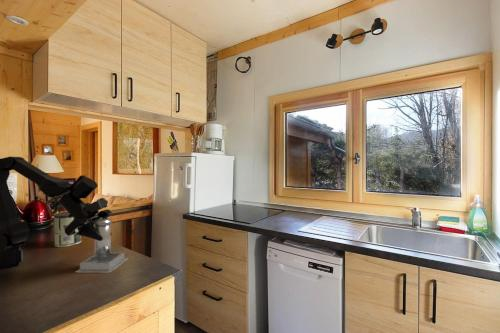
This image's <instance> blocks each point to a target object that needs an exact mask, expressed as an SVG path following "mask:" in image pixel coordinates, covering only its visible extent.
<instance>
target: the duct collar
mask: <svg viewBox="0 0 500 333" xmlns="http://www.w3.org/2000/svg"><path fill="white" fill-rule="evenodd" d="M127 260H129V258H128V257H125V252H111V255H110V256H108V257H104V258H95V254H93V255H92V256H89V257H88V258H87V259H84V260H83V261H82V262H80V263H79V269H78V270H76V271H74V272H75V273H77V274H78V273H80V274H81V273H83V274H84V273H93V274H94V273H99V274H100V273H103V274H107V273H111V272H113V271H114V270H116V269H117V268H118V267H119V266H121V265H122V264H124V263H125V262H126V261H127Z"/></svg>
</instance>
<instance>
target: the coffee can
mask: <svg viewBox="0 0 500 333" xmlns="http://www.w3.org/2000/svg"><path fill="white" fill-rule="evenodd" d="M69 215H70V214H69V213H68V212H67V211H63V212H60V213H54V214H53V219H54V220H53V221H54V222H53V223H54V247H57V248H65V247H70V246H75V245H78V244H80V243H82V235H76V234H77V233H78V232H79V231H78V229H76V230H75V234H73V235H71V236H67V235H66V234H65V233H64V229H65V228H66V227H67V226H68V225H69V224H70V223H71V222H72V221H73V220H74V218H73V217H72V218H69V217H68V216H69Z"/></svg>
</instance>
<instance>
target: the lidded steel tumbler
mask: <svg viewBox="0 0 500 333" xmlns="http://www.w3.org/2000/svg"><path fill="white" fill-rule="evenodd" d="M112 222H113V220H112V219H111V218H107V219H98V220H95V221H93V223H94V226H95V229H96V230H97V231H98V232H99V234H100V235H101V236H102V238H103V240H102V241H99V240H96V239H94V255H95V258H104V257H108V256H110V255H111V253H112V251H111V250H112V249H111V248H112V246H111V244H112V242H111V239H112V238H111V237H112V235H111V234H112V232H111V227H112V226H111V225H112Z"/></svg>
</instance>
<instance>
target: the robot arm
mask: <svg viewBox="0 0 500 333" xmlns="http://www.w3.org/2000/svg"><path fill="white" fill-rule="evenodd" d="M11 171H15V172H16V173H18V175H19V174H20V175H21V176H23V177H24V178H25V179H28V180H29V181H30V182H32V183H34V184H36V185H37V186H38V188H39V191H40V192H42V193H43V194H44V195H45V196H46V197H48V198H57V197H60V198H59V199H54V203H53V208H60V207H62V208H63V209H64V210H65V212H68V213H69V214H70V215H69V216H68V217H69V218H72V217H73V218H74V220H73V221H72V222H71V223H70V224H69V225H68V226H67V227H66V228H65V229H64V233H65V234H66V235H67V236H71V235H73V234H75V230H76V229H78V231H79V232H78V233H77V234H76V235H81V237H85V238H89V239H92V240H95V239H96V240H99V241H102V240H103V238H102V236H101V235H100V234H99V232H98V231H97V230H96V229H95V226H94V223H93V221H95V220H98V219H109V217H110V216H111V215H112V214H113V212H112V211H111V210H110V209H106V208H108V202H109V201H108V200H106V198H104V197H100V198H98V199H96V201H94V202H91V203H90V202H86V203H85V201H84V200H82V199H87V198H88V197H89V196H90V195H91V194H92V193H93V192H94V191H95V190H96V189H97V188H98V187H99V186H98V183H97V182H96V181H95V179H92V178H89V177H88V176H86V175H79V176H78V178H76V180H75V181H74V182H73V183H70V182H69V181H68V180H65V179H63V178H61V177H58V176H57V177H56V176H53V175H50V174H48V173H47V172H45V171H44V170H41V169H40V168H38V167H37V166H36V165H33V164H32V163H30V162H29V161H27V160H25V158H24V157H22V156H7V157H2V158H0V269H6V268H11V267H12V268H13V267H17V266H20V264H21V263H22V262H23V260H24V258H23V257H24V255H23V254H24V252H23V250H24V249H22V248H21V246H25V245H26V243H27V240H28V238H29V237H30V232H31V229H30V228H29V225H28V224H29V223H28V221H27V220H23V221H22V220H20V219H19V217H18V215H17V212H16V208H15V205H14V202H13V199H12V195H11V192H10V189H9V185H8V179H9V177H10V176H11V175H10V174H11V173H10V172H11ZM102 209H103V210H102ZM112 235H113V234H112V233H111V236H112Z"/></svg>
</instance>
